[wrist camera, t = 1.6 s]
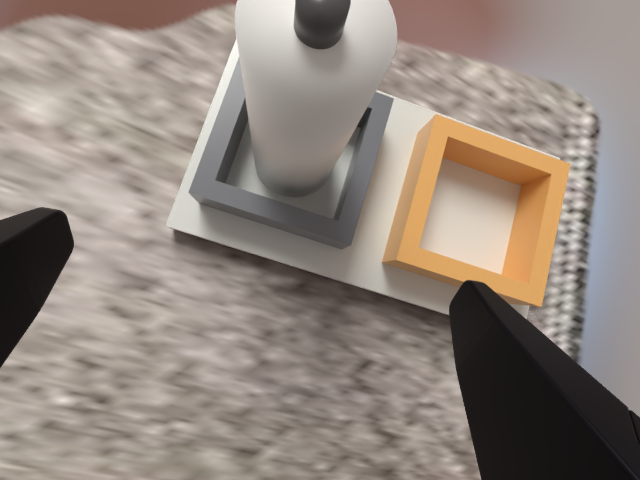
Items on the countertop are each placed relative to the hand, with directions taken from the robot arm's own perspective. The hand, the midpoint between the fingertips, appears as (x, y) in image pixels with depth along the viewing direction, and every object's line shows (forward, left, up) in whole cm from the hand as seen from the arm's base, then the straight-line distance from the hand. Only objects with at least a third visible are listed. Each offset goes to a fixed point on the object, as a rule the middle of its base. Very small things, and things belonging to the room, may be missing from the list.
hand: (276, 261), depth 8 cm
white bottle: (+7, +1, -12) cm, 14 cm away
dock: (+7, -5, -13) cm, 15 cm away
